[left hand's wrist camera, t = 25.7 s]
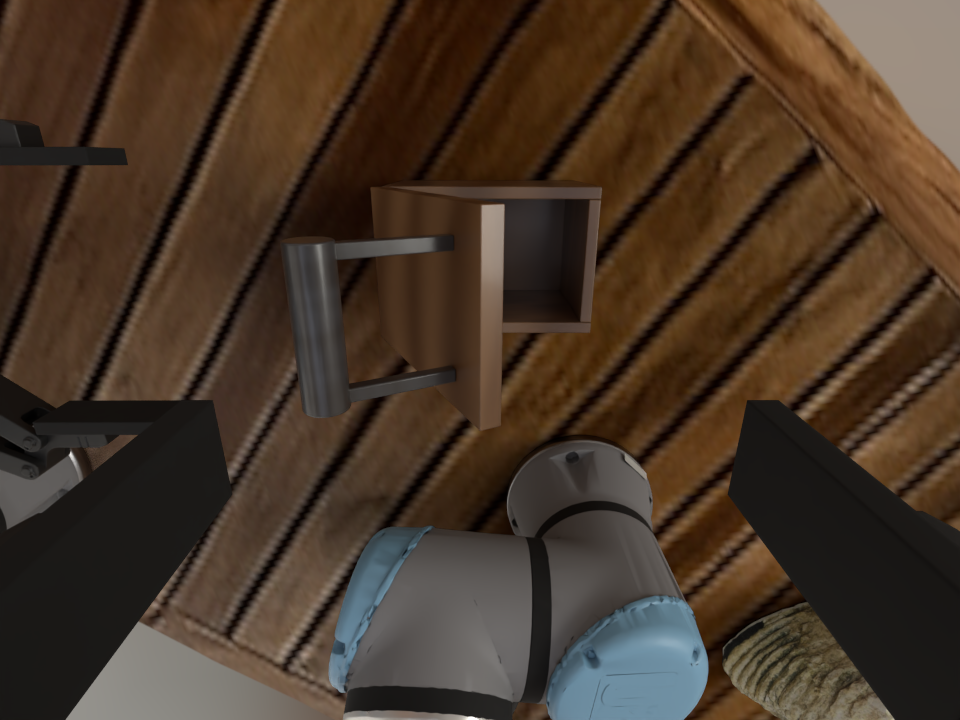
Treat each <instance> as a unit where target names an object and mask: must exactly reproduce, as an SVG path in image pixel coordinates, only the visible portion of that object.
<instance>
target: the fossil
mask: <svg viewBox="0 0 960 720" xmlns="http://www.w3.org/2000/svg"><path fill="white" fill-rule="evenodd" d="M722 665H723V669H724V671H725V672H726V673H727V674H728V675H729V677H730V679H731V681H732V683H733V685H734V686H736V687H737V689H738V690H740V692H741V693H743V694H745V695H747V696H748V697H749V698H751V699H752V700H754V701H755V702H757V703H759V704H761V705H762V707H763V708H764V709H766V710H769V711H770V712H771V713H772V714H773V715H775V716H777V717H779V718H780V719H781V720H894V718H893V717H892V715H891V714H890V713H889V711H888V710H887V709H886V707H885V706H884V705H883V703H882V702H881V701H880V699H879V698H878V697H877V695H876V694H875V693H874V691H873V690H872V688H871V687H870V686H869V684H868V683H867V682H866V680H865V679H864V678H863V676H862V675H861V674H860V672H859V671H858V670H857V668H856V667H855V666H854V664H853V663H852V661H851V660H850V659H849V657H848V656H847V655H846V653H845V652H844V651H843V649H842V648H841V647H840V645H839V644H838V643H837V641H836V640H835V639H834V637H833V636H832V634H831V633H830V632H829V630H828V629H827V628H826V626H825V625H824V624H823V622H822V621H821V620H820V618H819V617H818V616H817V614H816V613H815V611H814V610H813V609H812V607H811V606H810V605H809V603H808V602H805V603H801V604H797V605H796V606H794V607H791V608H787V609H783V610H780V611H778V612H775V613H773V614H771V615H768V616H766V617H764V618H761V619H759V620H757V621H755V622H753V623H752V624H750V625H749V626H747V627H746V628H745V629H743V630H742V631H741V632H739V633H738V634H737V635H736V637H734V638H732V639H731V640H730V641H729V642H728V643H727V644H726V645H725V646H724V647H723V659H722Z"/></svg>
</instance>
